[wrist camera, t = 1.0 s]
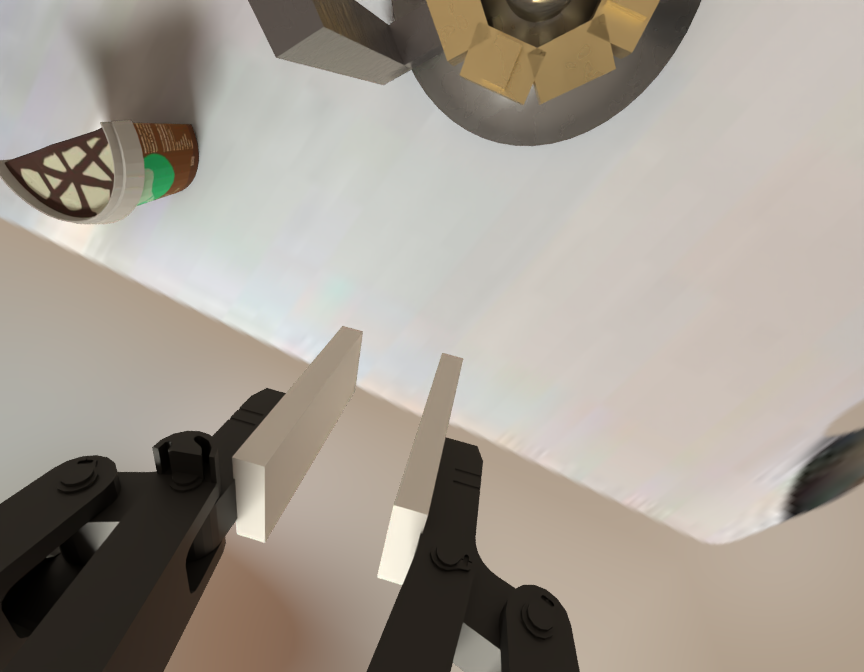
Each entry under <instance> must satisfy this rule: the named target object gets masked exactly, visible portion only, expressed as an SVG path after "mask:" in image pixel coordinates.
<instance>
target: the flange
mask: <svg viewBox="0 0 864 672" xmlns="http://www.w3.org/2000/svg"><path fill="white" fill-rule="evenodd" d="M480 1H481V4H482V7H483V11H484V14H485V17H486V20H487V24H488V26H490V27H492V28H495V29H497V30H499V31H501V32H503V33H506V34H508V35H510V36H512V37H514V38H517V39H519V40H521V41H523V42H525V43H528V44H530V45H532V46H534V47H536V48H538V47H540V46H542V45H544V44H546V43H548V42H550V41H552V40H553V39H555V38H557V37H559V36H561V35H563V34H565V33H567V32H569V31H571V30H573V29H575V28H577V27H579V26H581V25H582V24H584V23H586V22H588V21H589V20H590V18H591V16H592V14H593V12H594V9H595V7H596V5H597V3H598V1H599V0H480ZM426 2H427V1H426V0H392V5H393V13H394V19H395V21H397V20H398V19H400V18H402V17H403V16H405V15H406V14H408V13H410V12H411V11H413V10H415V9H416V8H418V7H420V6H421V5H423V4H425V3H426ZM700 2H701V0H660V1H659V3H658V5H657V7H656V9H655V11H654V13H653V14H652V16H651V18H650V20H649V22H648V24H647V26H646V28H645V30H644V32H643V33H642V35H641V37H640V39H639V41H638V43H637V45H636V47H635V49H634V50H633V52H632V53H631V54H629V55H628V56H626V57H624V58H622V59H620V58H618V57H615V56H613V57H614V62H615V67H616V69H615V70H613V71H611V72H609V73H607V74H605V75H603V76H600V77H598V78H596V79H594V80H592V81H590V82H588V83H586V84H583V85H581V86H579V87H577V88H575V89H573V90H571V91H568V92H566V93H564V94H562V95H560V96H558V97H556V98H554V99H551V100H549V101H547V102H545V103H543V104H541V105H539V103H538V99H537V96H536V92H535V89H534V85H532V87H531V89H530V92H529V94H528V96H527V98H526V101H525V103H524V105H521V104H518V103H516V102H514V101H512V100H510V99H507V98H505V97H503V96H501V95H499V94H496V93H494V92H492V91H490V90H488V89H485V88H483V87H481V86H479V85H477V84H474V83H472V82H470V81H468V80H466V79H464V78H463V77H461V76H460V72H461V69H462V66H463V63H464V61H463V62H461V63H459V64H457V65H455V66H453V65H451V64H450V63H449V62H448V61H447V59H446V56H445V53H444V52H442V53H440V54H439V55H437V56H435V57H433V58H431V59H430V60H428V61H426V62H424V63H422V64H421V65H419V66H417V67H415V68H413V69H412V71H413V73H414V75H415V77H416V79H417V80H418V82H419V83H420V85H421V87H422V88H423V90H424V91H425V93H426V94H427V95H428V97H429V98H430V99H431V100H432V101H433V102H434V104H435V105H436V106H437V107H438V108H439V109H440V110H441V111H442V112H443V113H444V114H445V115H447V116H448V117H449V118H450V119H451V120H452V121H454V122H455V123H457V124H458V125H460V126H461V127H463V128H464V129H466V130H467V131H469V132H471V133H473V134H476V135H478V136H480V137H482V138H485V139H488V140H491V141H494V142H498V143H503V144H509V145H515V146H536V145H544V144H552V143H556V142H560V141H563V140H567V139H571V138H573V137H576V136H578V135H580V134H583V133H585V132H588V131H590V130H592V129H593V128H595V127H597V126H599V125H601V124H602V123H604V122H606V121H608V120H609V119H610V118H612V117H613V116H615V115H616V114H617V113H619V112H620V111H622V110H623V109H624V108H626V107H627V106H628V105H629V104H630V103H631V102H632V101H633V100H635V99H636V98H637V97H638V96H639V95H640V94H641V93H642V92H643V91H644V90H645V89H646V88H647V87H648V86H649V85H650V83H651V82H652V81H653V80H654V79H655V78H656V77H657V76H658V75H659V73H660V72H661V71H662V69H663V68H664V67H665V65H666V64H667V62H668V61H669V60H670V58H671V57H672V56H673V54H674V53H675V51H676V49H677V48H678V46H679V44H680V43H681V41H682V39H683V38H684V36H685V34H686V33H687V31H688V29H689V26H690V24H691V22H692V20H693V18H694V16H695V14H696V12H697V9H698V7H699V5H700Z"/></svg>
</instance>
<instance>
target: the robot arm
mask: <svg viewBox="0 0 864 672" xmlns="http://www.w3.org/2000/svg"><path fill="white" fill-rule="evenodd" d="M362 334H363V331H359V330H355V329H352V328H348V327H344V326H342V327H341V329H340V330H339V331H338V332H337V333H336V335H335V336H334V337H333V338H332V339H331V341H330V342H329V343H328V344H327V345H326V346H325V348H324V349H323V350H322V351H321V352H320V354H319V355H318V356H317V357H316V358H315V359H314V361H313V362H312V363H311V364H310V365H309V367H308V368H307V369H306V370H305V371H304V373H303V374H302V375H301V376H300V377H299V378H298V380H297V381H296V382H295V383H294V384H293V386H292V387H291V388H290V389H289V390H288V392H287V393H283V392H279V391H275V390H272V389H268V388H266V389H264V390H262V391H260V392H258V393H256V394H254V395H252V396H251V397H250V398H249V399H248V400H247V401H246V402H245V403H244V404H243V405H242V406H241V407H240V409H239V410H237V411H236V412H235V413H234V415H232V416H231V418H230V420H227V422H226V423H225V424H224V425H223V426H222V427H221V428H220V429H219V430H218V431H217V432H216V433H215V434H214V435H213V436H211V435H209V434H206V433H203V432H200V431H184V432H180V433H175V434H172V435H170V436H168V437H166V438H164V439H162V440H160V441H159V442H158V443H157V444H156V445H154V447H152V448H153V454H154V459H155V464H156V470H157V472H117V469H116V465H115V463H114V462H113V461H112V460H110V459H109V458H107V457H102V456H97V455H95V456H83V457H79V458H76V459H72V460H69V461H66V462H64V463H62V464H61V465H59V466H57V467H55V468H53V469H52V470H50V471H49V472H47V473H46V474H44V475H43V476H41V477H40V478H38V479H37V480H35V481H34V482H32V483H31V484H29V485H28V486H26V487H25V488H23V489H22V490H20V491H19V492H17V493H16V494H14V495H13V496H11V497H10V498H8V499H7V500H5V501H4V502H2V503H1V504H0V672H163V671H164V669H165V667H166V665H167V664H168V662H169V660H170V657H171V656H172V653H173V652H174V650H175V648H176V645H177V643H178V642H179V640H180V637H181V636H182V634H183V632H184V629H185V628H186V626H187V624H188V621H189V620H190V618H191V615H192V614H193V612H194V610H195V608H196V606H197V604H198V602H199V600H200V598H201V596H202V594H203V592H204V590H205V588H206V586H207V584H208V582H209V580H210V578H211V576H212V574H213V572H214V570H215V567H216V566H217V564H218V562H219V560H220V558H221V556H222V553H223V551H224V547H225V544H226V540H225V535H226V534H227V533H228V531H229V530H230V528H231V527H232V525H233V524H234V523H235V521H236V531H237V534H238V535H241V536H244V537H248V538H251V539H254V540H258V541H261V542H264V543H265V542H266V540H267V539H268V537H269V535H270V534H271V532H272V530H273V528H274V527H275V525H276V523H277V522H278V520H279V518H280V517H281V515H282V513H283V512H284V510H285V508H286V507H287V505H288V503H289V502H290V500H291V498H292V496H293V495H294V493H295V492H296V490H297V488H298V486H299V485H300V483H301V481H302V480H303V478H304V476H305V475H306V473H307V471H308V470H309V468H310V466H311V465H312V463H313V461H314V460H315V458H316V456H317V455H318V453H319V451H320V449H321V448H322V446H323V444H324V443H325V441H326V439H327V438H328V436H329V434H330V432H331V431H332V429H333V428H334V426H335V424H336V423H337V421H338V419H339V417H340V416H341V414H342V413H343V411H344V409H345V407H346V406H347V404H348V402H349V401H350V399H351V397H352V396H353V394H354V392H355V387H356V380H357V372H358V365H359V357H360V349H361V342H362ZM462 362H463V358H459V357H456V356H452V355H448V354H445V353H442V355H441V359H440V362H439V365H438V368H437V371H436V374H435V377H434V381H433V384H432V387H431V390H430V393H429V396H428V399H427V402H426V406H425V409H424V412H423V415H422V418H421V421H420V424H419V427H418V431H417V434H416V437H415V440H414V443H413V446H412V449H411V452H410V456H409V459H408V462H407V465H406V468H405V471H404V474H403V478H402V481H401V484H400V487H399V490H398V493H397V496H396V499H395V502H394V506H393V510H392V515H391V519H390V523H389V528H388V532H387V536H386V541H385V545H384V550H383V554H382V558H381V563H380V567H379V571H378V576H377V577H378V578H381V579H384V580H388V581H391V582H394V583H397V584H400V585H402V587H401V590H400V592H399V594H398V597H397V599H396V602H395V604H394V607H393V609H392V611H391V614H390V616H389V619H388V621H387V623H386V626H385V628H384V631H383V633H382V636H381V638H380V641H379V643H378V646H377V648H376V650H375V653H374V655H373V658H372V660H371V662H370V665H369V667H368V670H367V672H450V671H451V667H452V663H454V664H455V665H456V666H457V667H459V668H460V669H461V670H463V671H464V672H580V671H579V666H578V660H577V655H576V649H575V645H574V639H573V634H572V628H571V624H570V621H569V618H568V615H567V613H566V610H565V609H564V608H563V606H562V605H561V603H560V602H559V600H558V599H557V598H556V597H555V596H553V595H552V594H551V593H550V592H548V591H547V590H546V589H543V588H541V587H538V586H536V585H522V586H520V587H518V588H516V589H515V588H514V587H512V586H511V585H509V584H508V583H506V582H505V581H503V580H502V579H501V578H499V577H498V576H496V575H495V574H494V573H492V572H491V571H490V570H489V569H488V568H487V566H486V565H485V564H484V563H483V561H482V560H481V558H480V556H479V554H478V551H477V548H476V542H475V541H476V539H475V535H476V525H477V516H478V505H479V495H480V485H481V476H482V465H483V460H482V458H481V455H480V452H479V449H478V447H477V446H475V445H471V444H467V443H464V442H460V441H456V440H453V439H449V438H446V433H447V428H448V424H449V419H450V415H451V410H452V406H453V402H454V397H455V393H456V388H457V384H458V379H459V375H460V370H461V366H462Z"/></svg>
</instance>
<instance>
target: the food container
mask: <svg viewBox="0 0 864 672" xmlns="http://www.w3.org/2000/svg"><path fill="white" fill-rule="evenodd" d="M100 124H101V126H102V128H100V129H98V130H96V131H93V132H90V133H87V134H84V135H81V136H78V137H75V138H72V139H69V140H65V141H62V142H59V143H55V144H52V145H49V146H47V147H45V148H42V149H40V150H37V151H34V152H32V153H29V154H26V155H23V156H20V157H17V158H15V159H11V160H0V178H1V179H2V180H3V181H4V182H5V184H6V185H7V186H8V187H9V188H10V189H11V190H12V191H13V192H14V193H15V194H16V195H18V196H19V197H20V198H21V199H22V200H24V201H25V202H26V203H28V204H29V205H30V206H32V207H33V208H35V209H36V210H38V211H40V212H42V213H44V214H46V215H48V216H50V217H53V218H55V219H58V220H63V221H67V222H72V223H77V224H109V223H114V222H117V221H119V220H122V219H124V218H125V217H126V216H128V215H129V214H130V213H131V212H132V211H133V210H134V209H135V207H136V206H138V205H141V204H144V203H147V202H150V201H153V200H156V199H159V198H162V197H165V196H168V195H171V194H174V193H177V192H180V191H182V190H184V189H185V188H187V187H188V186H189V185H190V184H191V182H192V181H193V179H194V177H195V175H196V172H197V169H198V162H199V152H198V144H197V140H196V136H195V133H194V130H193V127H192V125H191V124H161V123H132V120H125V121H111V122H100Z"/></svg>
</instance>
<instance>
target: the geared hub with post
mask: <svg viewBox="0 0 864 672" xmlns="http://www.w3.org/2000/svg"><path fill="white" fill-rule="evenodd" d="M248 1H249V3H250V5H251V7H252V9H253V11H254V13H255V15H256V17H257V19H258V21H259V24H260V26H261V28H262V30H263V32H264V34H265V36H266V38H267V40H268V42H269V44H270V46H271V48H272V50H273V52H274V54H275V56H276V58H279V59H283V60H287V61H291V62H295V63H299V64H303V65H307V66H311V67H315V68H318V69H322V70H326V71H330V72H334V73H338V74H342V75H346V76H350V77H354V78H358V79H361V80H365V81H369V82H373V83H377V84H381V85H385V84H386V83H388V82H390V81H392V80H394V79H395V78H397V77H399V76H401V75H403V74H404V73H406V72H408V71H410V70H412V69H413V68H415V67H417V66H419V65H421V64H422V63H424V62H426V61H428V60H430V59H431V58H433V57H435V56H437V55H439V54H440V53H442V52H444V53H445V56H446V59H447V61H448V62H449V63H450V64H451V65H453V66H455V65H457V64H459V63H461V62H463V61H464V63H463V66H462V69H461V72H460V76H461V77H463V78H464V79H466V80H468V81H470V82H472V83H474V84H477V85H479V86H481V87H483V88H485V89H488V90H490V91H492V92H494V93H496V94H499V95H501V96H503V97H505V98H507V99H510V100H512V101H514V102H516V103H518V104H521V105H524V103H525V101H526V98H527V96H528V94H529V92H530V89H531V87H532V85H534V89H535V92H536V96H537V99H538V103H539V105H541V104H543V103H545V102H547V101H549V100H551V99H554V98H556V97H558V96H560V95H562V94H564V93H566V92H568V91H571V90H573V89H575V88H577V87H579V86H581V85H583V84H586V83H588V82H590V81H592V80H594V79H596V78H598V77H600V76H603V75H605V74H607V73H609V72H611V71H613V70H615V69H616V67H615V62H614V57H613V56H615V57H618V58H620V59H622V58H624V57H626V56H628V55H629V54H631V53H632V52H633V50H634V49H635V47H636V45H637V43H638V41H639V39H640V37H641V35H642V33H643V32H644V30H645V28H646V26H647V24H648V22H649V20H650V18H651V16H652V14H653V13H654V11H655V9H656V7H657V5H658V3H659V1H660V0H599V1H598V3H597V5H596V7H595V9H594V12H593V14H592V16H591V18H590V20H589V21H588V22H586V23H584V24H582V25H581V26H579V27H577V28H575V29H573V30H571V31H569V32H567V33H565V34H563V35H561V36H559V37H557V38H555V39H553V40H552V41H550V42H548V43H546V44H544V45H542V46H540V47H538V48H536V47H534V46H532V45H530V44H528V43H525V42H523V41H521V40H519V39H517V38H514V37H512V36H510V35H508V34H506V33H503V32H501V31H499V30H497V29H495V28H492V27H490V26H488V24H487V20H486V17H485V14H484V11H483V7H482V4H481V1H480V0H426V1H427V2H426V3H425V4H423V5H421V6H420V7H418V8H416V9H415V10H413V11H411V12H410V13H408V14H406V15H405V16H403V17H402V18H400V19H398V20H397V21H395V22H393V23H392V24H390V25H388V24H386V23H385V22H384V21H382V20H381V19H380V18H378V17H377V16H375V15H374V14H373V13H371V12H370V11H369V10H367V9H366V8H365V7H363V6H362V5H360V4H359V3H358V2H356V1H355V0H248Z"/></svg>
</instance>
